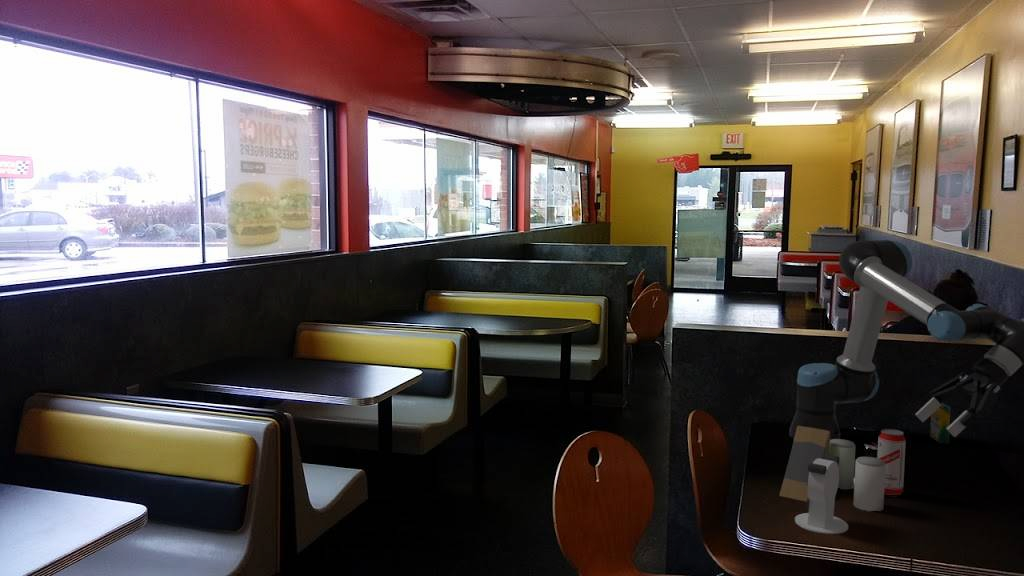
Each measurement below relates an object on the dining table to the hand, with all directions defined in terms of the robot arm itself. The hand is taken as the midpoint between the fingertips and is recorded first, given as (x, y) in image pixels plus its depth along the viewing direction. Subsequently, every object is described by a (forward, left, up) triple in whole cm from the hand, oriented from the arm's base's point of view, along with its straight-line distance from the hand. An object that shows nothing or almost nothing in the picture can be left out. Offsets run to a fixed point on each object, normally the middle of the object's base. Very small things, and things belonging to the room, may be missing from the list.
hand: (934, 425), depth 193 cm
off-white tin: (+9, -21, -18) cm, 29 cm away
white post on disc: (+19, -37, -18) cm, 45 cm away
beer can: (0, -11, -18) cm, 21 cm away
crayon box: (-46, +30, -18) cm, 58 cm away
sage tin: (-6, -21, -18) cm, 28 cm away
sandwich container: (-2, -32, -18) cm, 37 cm away
